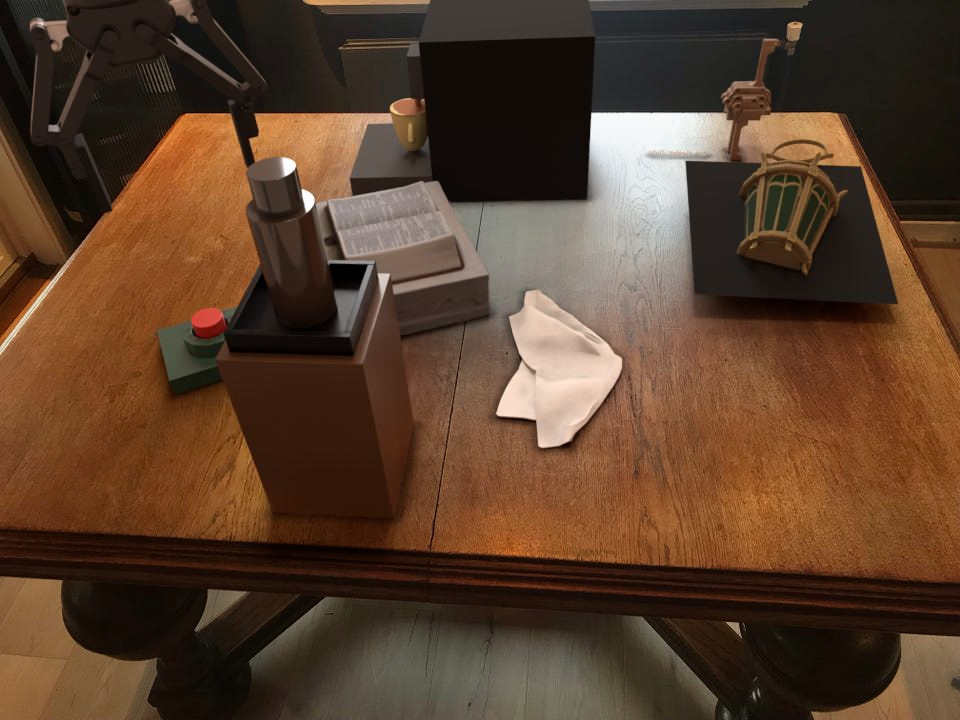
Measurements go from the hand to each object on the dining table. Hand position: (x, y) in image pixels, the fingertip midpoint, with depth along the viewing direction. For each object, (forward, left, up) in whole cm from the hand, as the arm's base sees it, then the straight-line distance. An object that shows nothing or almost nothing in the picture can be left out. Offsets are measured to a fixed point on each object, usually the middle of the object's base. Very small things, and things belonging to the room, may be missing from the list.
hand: (181, 187), depth 74 cm
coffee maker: (+43, +30, -24) cm, 57 cm away
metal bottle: (+6, -19, -4) cm, 21 cm away
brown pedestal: (+6, -19, -24) cm, 32 cm away
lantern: (+69, -10, -24) cm, 73 cm away
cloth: (+33, -16, -24) cm, 44 cm away
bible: (+22, +9, -24) cm, 34 cm away
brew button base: (-2, +5, -24) cm, 25 cm away
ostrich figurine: (+77, +16, -24) cm, 82 cm away
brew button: (-2, +5, -21) cm, 21 cm away
